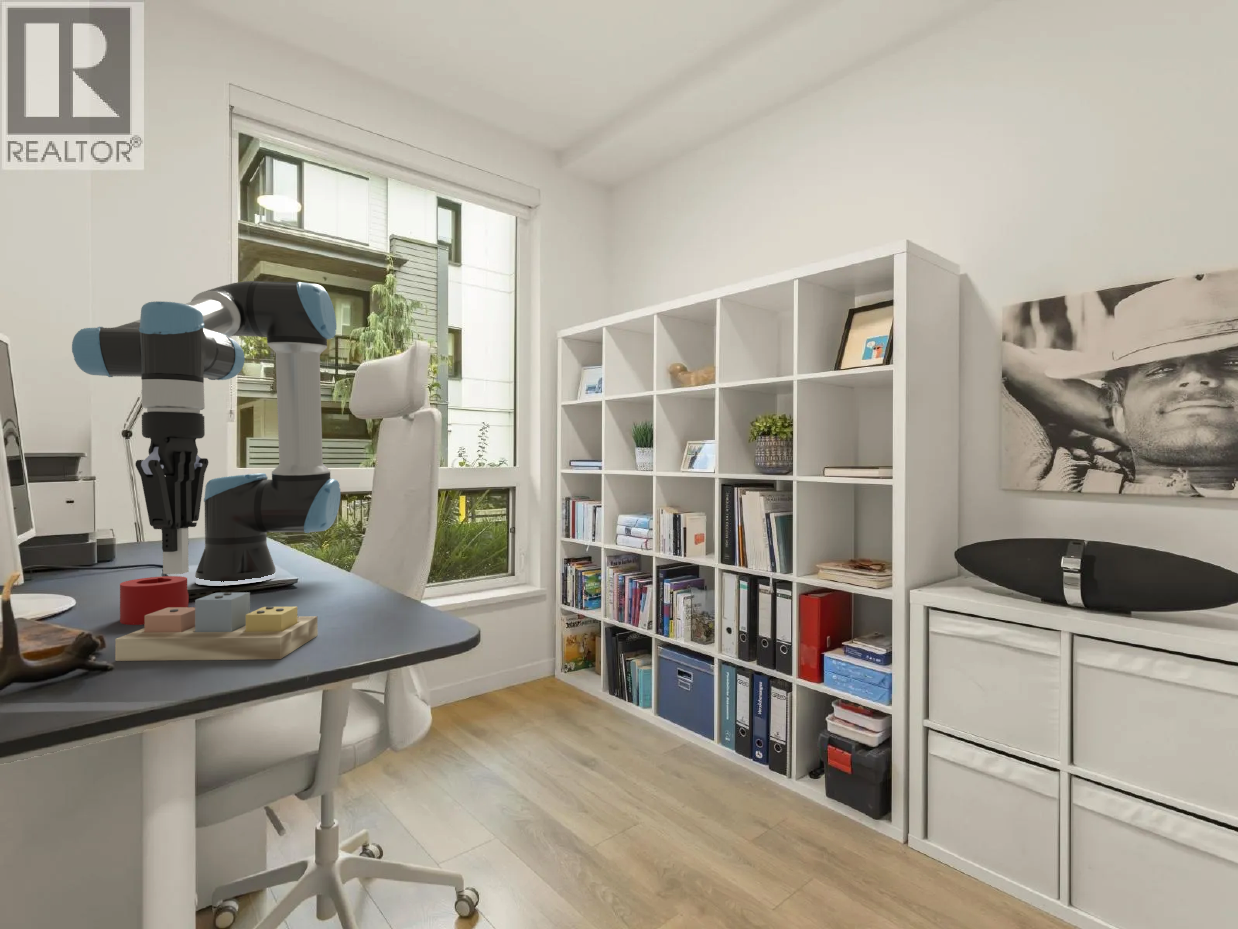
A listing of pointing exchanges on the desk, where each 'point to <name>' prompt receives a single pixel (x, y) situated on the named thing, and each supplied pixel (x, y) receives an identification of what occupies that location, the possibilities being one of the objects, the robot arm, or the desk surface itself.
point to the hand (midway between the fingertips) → (176, 572)
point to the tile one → (170, 620)
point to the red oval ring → (151, 597)
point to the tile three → (271, 619)
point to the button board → (215, 643)
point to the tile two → (221, 612)
